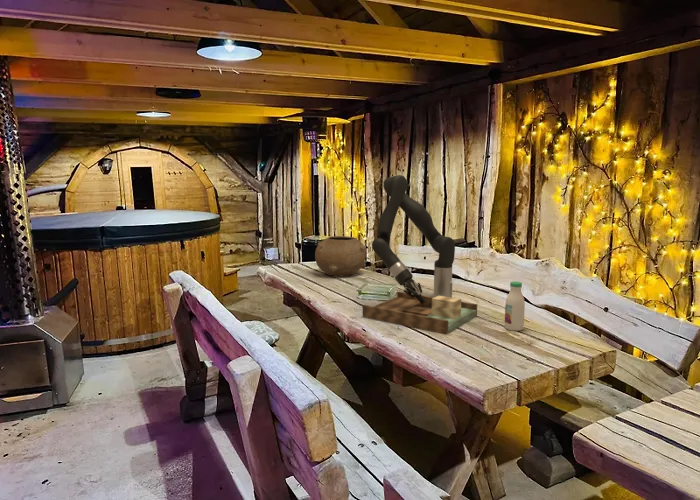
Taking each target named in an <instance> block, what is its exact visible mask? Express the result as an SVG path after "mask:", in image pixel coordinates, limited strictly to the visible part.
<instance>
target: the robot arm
mask: <svg viewBox="0 0 700 500" xmlns="http://www.w3.org/2000/svg"><path fill="white" fill-rule="evenodd" d="M408 184H409V183H408V180H407V178H406V176H404V175H401V174H397V175H392V176H389V177H387V178H385V179H384V181H383V190H384V191H385V193H386V194H387V195H388V196H389V197H390V198H389V200H388V203H387V205H386V206H385V208H384V209H383V212H382V213H381V216H380V217H379V221H378V224H377V230H376V232H377V235H376V238H374V240H373V241H372V243H371V248H372V251H374V253H375V254H376V255H377V257H379V259H380V260H381V261H382V263H383V264H384V265H385V267H386V269H388V271H389V273H390V274H391V275H392V277H393V278H394V280H395V281H396V282H397V283H398V284H399V286H403V288H404V289H403V291H402V292H403V293H407V294H408V295H410V296H411V297H413V298H414V297H415V298H417V299H418V300H419V302H420V303H421V304H423V303H424V302H425V301H426V300H425V299H424V298H423V296H424V295H422V293H423V289H422V285H421V283H420V282H418V283H417V282H416V281H415V280H414V279H413V277H414V275H413V274H412V272H411V271H410V270H409V269H408V267H407V266H406V265H405V264H404V263H403V262H402V261H401V260H400V258H399V257H398V255H396V254H395V252H394V251H393V250H392V249H391V248H390V247H391V246H390V242H391V235H392V234H391V233H392V231H393V227H394V224H395V219H396V216H397V214H398V211H399V208H400V209H401V211H403V213H404V214H405V215H406V216H407V218H409V220H410V221H411V222H412V223H413V224H414V225H415V227H416V228H417V229H418V231H420V233H421V234H422V235H423V236H424V237H425V238H426V240H427V241H428V242H427V243H429V245H430V246H431V248H432V249H433V251H434V252H436V253H438V259H436V260H435V261H434V268H433V270H434V271H433V277H434V278H433V297H436V296H445V297H451V298H453V263H454V262H455V252H456V243H455V240H454V239H453V238H452V237H450V236H445V235H443V234H441V233H440V231H438V230H437V228H436V226H435V225H434V221H433V218H432V216H431V214H430V213H429V211H428V210H427V209H426V208H425V206H423V204H421V203H419V201H417V200H415V199H414V198H412V197H410V196H409V195H408V194H407V193H406V192H407V189H408Z"/></svg>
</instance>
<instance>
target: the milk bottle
mask: <svg viewBox="0 0 700 500" xmlns="http://www.w3.org/2000/svg"><path fill="white" fill-rule="evenodd" d="M509 286H510V290H509V293H508V295H507V297H506V298H505V305H504V307H505V309H504V328H505V329H506V330H507V331H508V330H509V331H512V332H518V331H519V332H520V331H522V330H524V326H525V311H526V310H525V308H526V307H525V305H526V303H525V298H524V296H523V295H524V294H523V293H522V286H523V283H522V282H521V281H513V280H512V281H511V282H510V283H509Z"/></svg>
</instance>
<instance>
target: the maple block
mask: <svg viewBox="0 0 700 500" xmlns="http://www.w3.org/2000/svg"><path fill="white" fill-rule="evenodd" d="M433 297H434V296H433ZM461 302H462V299H461V298H456V297H452V298H451V297H445V296H436V297H434V298H432V315H435V316H441V317H446V318H451V319H456V318H457V317H459V316H461Z"/></svg>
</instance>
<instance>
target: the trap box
mask: <svg viewBox="0 0 700 500" xmlns="http://www.w3.org/2000/svg"><path fill="white" fill-rule="evenodd" d="M396 296H397V297H394V298H391V299H389V300H385V301H384V302H382V303H378V304H376V305H366V304H362V318H366V319H369V320H376V321H381V322H385V323H390V324H394V325H400V326H405V327H410V328H413V329H414V328H415V329H420V330H425V331H428V332H433V333H438V334H444V335H448V334H449V333H451V332H454V331H455V330H456V329H457V328H459V327H461V326H463V325H464V324H466V323H467V322H469V321H471V320H473V319H475V318H476V317H477V316H478V304H477V303H472V302H466V301H465V302H464V301H461V316H459V317H457V318H456V319H451V318H446V317H441V316H435V315H432V298H434V296H427V295H422V296H423V298H424V299H425V300H426V301H425V302H424V303H423V304H421V303H420V302H419V300H418V299H417V298H415V297H414V298H413V297H411V296H410V295H408V294H407V293H405V292H404V291H397V295H396Z"/></svg>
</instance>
